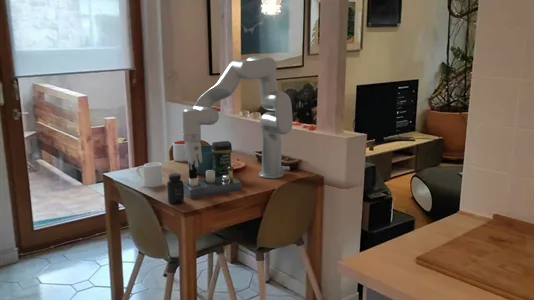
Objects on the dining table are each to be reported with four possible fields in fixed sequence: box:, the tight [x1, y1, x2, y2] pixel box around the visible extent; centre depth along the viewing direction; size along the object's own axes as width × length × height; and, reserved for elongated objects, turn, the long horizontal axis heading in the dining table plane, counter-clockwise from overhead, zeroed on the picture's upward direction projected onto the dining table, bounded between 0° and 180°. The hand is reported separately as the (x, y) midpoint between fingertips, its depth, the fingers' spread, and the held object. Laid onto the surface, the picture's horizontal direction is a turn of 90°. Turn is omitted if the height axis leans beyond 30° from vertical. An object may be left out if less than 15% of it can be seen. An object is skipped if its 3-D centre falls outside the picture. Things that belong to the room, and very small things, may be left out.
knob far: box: [188, 176, 199, 187], centre depth 232 cm, size 4×4×5 cm
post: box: [228, 165, 234, 183], centre depth 235 cm, size 3×3×7 cm
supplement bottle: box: [166, 172, 185, 205], centre depth 220 cm, size 7×7×12 cm
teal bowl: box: [197, 144, 213, 175], centre depth 266 cm, size 18×18×12 cm
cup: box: [172, 140, 187, 163], centre depth 290 cm, size 10×10×10 cm
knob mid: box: [205, 170, 215, 183], centre depth 236 cm, size 4×4×5 cm
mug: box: [136, 162, 163, 188], centre depth 245 cm, size 8×12×10 cm
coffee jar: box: [212, 140, 233, 177], centre depth 253 cm, size 10×8×19 cm
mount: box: [183, 175, 242, 199], centre depth 236 cm, size 24×13×6 cm, turn 118°
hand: (193, 177), depth 232 cm, fingers closed
